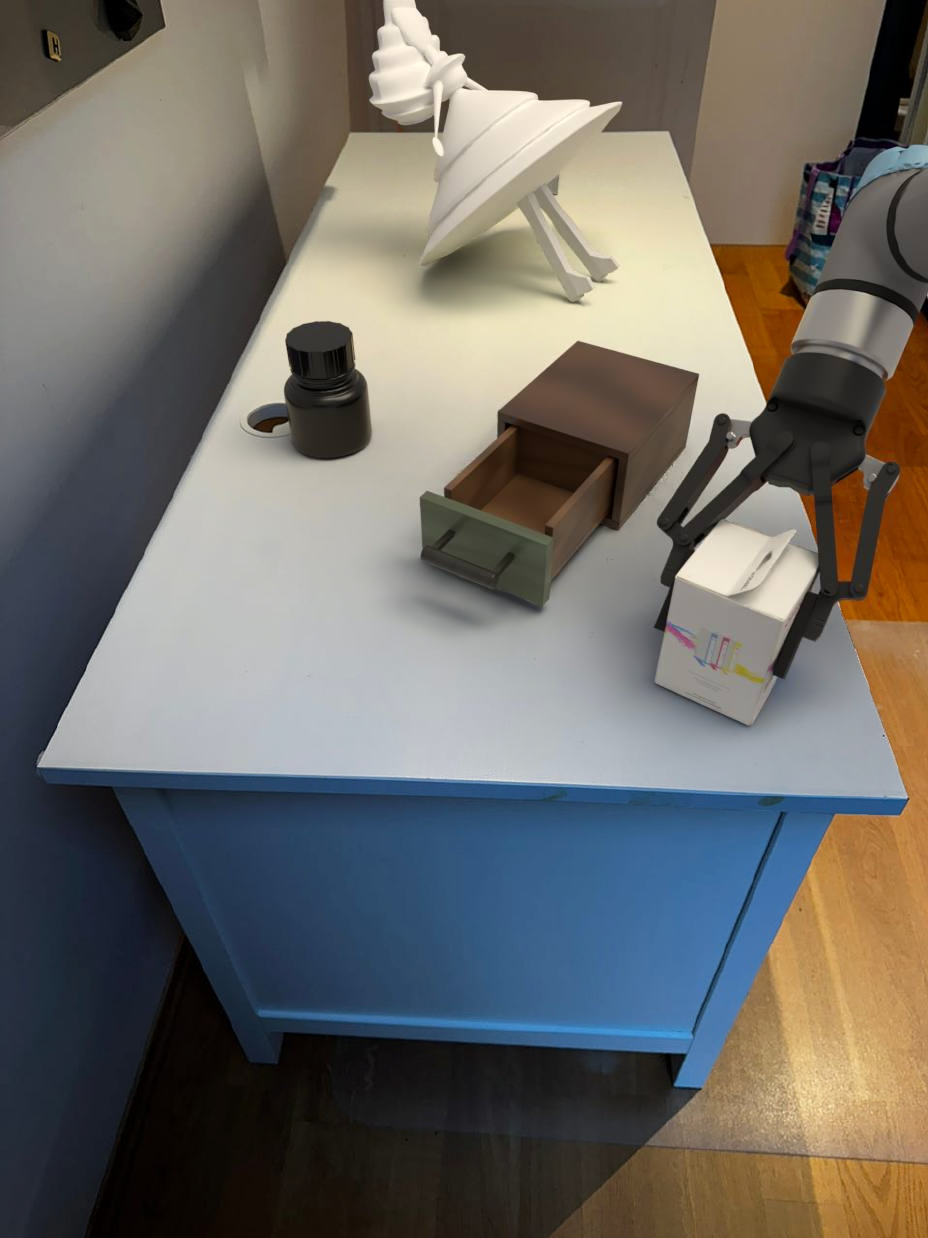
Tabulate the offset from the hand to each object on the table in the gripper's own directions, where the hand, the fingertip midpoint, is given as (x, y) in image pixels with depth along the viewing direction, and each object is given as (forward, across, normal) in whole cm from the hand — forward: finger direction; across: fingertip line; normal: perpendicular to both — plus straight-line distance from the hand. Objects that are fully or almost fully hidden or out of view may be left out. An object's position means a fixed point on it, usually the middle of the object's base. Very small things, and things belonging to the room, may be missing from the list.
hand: (718, 653), depth 68 cm
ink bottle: (-6, +49, -14) cm, 51 cm away
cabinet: (-13, +22, -21) cm, 33 cm away
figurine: (-40, +57, -48) cm, 85 cm away
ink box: (+2, 0, -6) cm, 6 cm away
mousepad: (-67, +76, -75) cm, 126 cm away
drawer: (-2, +22, -8) cm, 24 cm away
